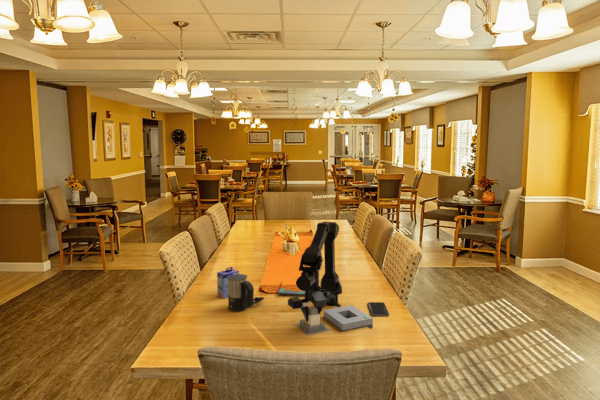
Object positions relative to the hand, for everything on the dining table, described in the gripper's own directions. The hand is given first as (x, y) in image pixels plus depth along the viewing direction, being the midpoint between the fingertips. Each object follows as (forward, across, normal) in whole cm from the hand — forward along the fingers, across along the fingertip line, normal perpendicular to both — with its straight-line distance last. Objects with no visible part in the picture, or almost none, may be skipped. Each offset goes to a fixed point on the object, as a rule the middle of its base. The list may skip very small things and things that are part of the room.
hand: (311, 320), depth 182 cm
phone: (+4, +36, +6) cm, 37 cm away
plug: (+3, 0, 0) cm, 3 cm away
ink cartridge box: (+4, -19, +54) cm, 57 cm away
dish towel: (+5, +15, +48) cm, 50 cm away
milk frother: (+4, -16, +36) cm, 40 cm away
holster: (+4, 0, 0) cm, 4 cm away
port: (+4, +16, -1) cm, 16 cm away
